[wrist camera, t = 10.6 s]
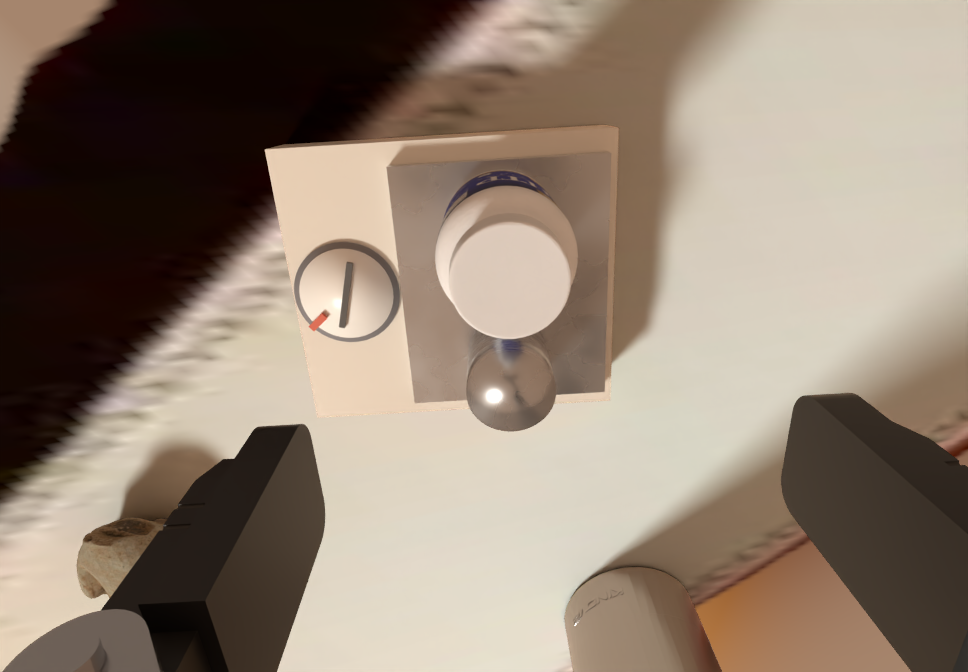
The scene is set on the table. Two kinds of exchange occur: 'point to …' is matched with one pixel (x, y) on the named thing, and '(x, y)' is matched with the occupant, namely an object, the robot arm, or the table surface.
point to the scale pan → (434, 318)
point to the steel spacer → (509, 381)
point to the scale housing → (384, 255)
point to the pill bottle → (506, 254)
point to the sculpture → (113, 553)
